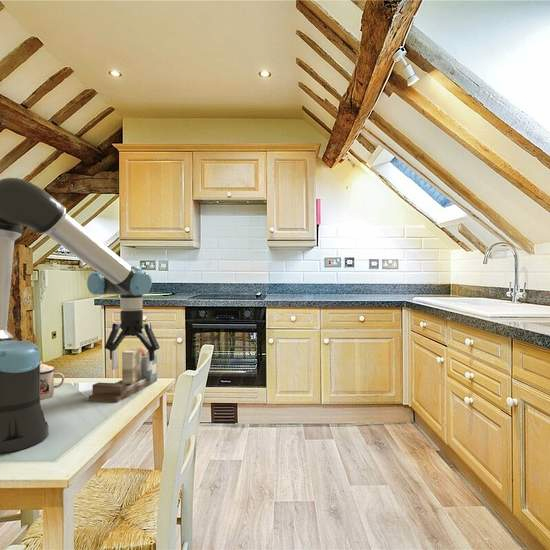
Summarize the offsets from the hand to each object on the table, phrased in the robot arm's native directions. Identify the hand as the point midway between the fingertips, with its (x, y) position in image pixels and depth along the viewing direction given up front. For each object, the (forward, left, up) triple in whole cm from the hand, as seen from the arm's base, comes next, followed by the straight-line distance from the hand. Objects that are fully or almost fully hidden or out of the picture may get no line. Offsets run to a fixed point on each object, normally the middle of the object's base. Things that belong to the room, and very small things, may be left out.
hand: (132, 369), depth 143 cm
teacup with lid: (-15, +23, -6) cm, 28 cm away
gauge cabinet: (+6, 0, -6) cm, 9 cm away
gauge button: (+6, 0, +2) cm, 7 cm away
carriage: (0, 0, -4) cm, 4 cm away
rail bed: (-4, 0, -6) cm, 7 cm away
